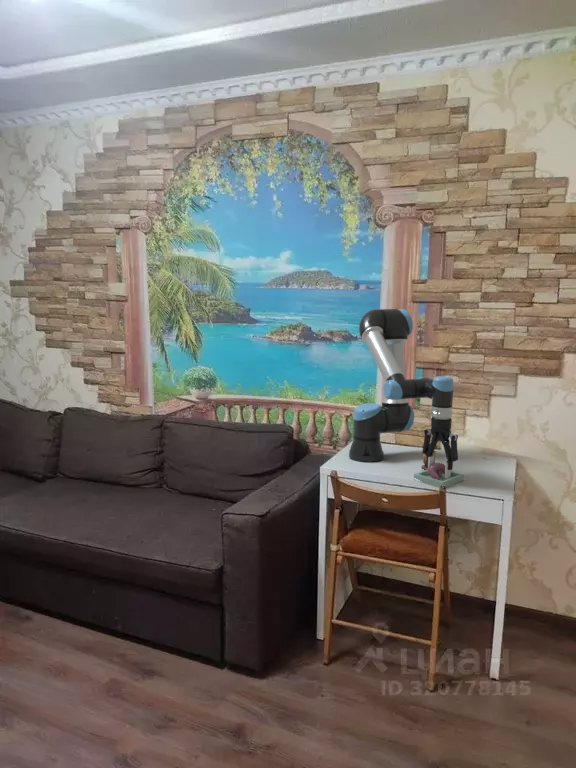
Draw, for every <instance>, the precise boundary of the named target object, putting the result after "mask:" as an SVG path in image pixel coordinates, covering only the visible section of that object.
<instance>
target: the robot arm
mask: <svg viewBox="0 0 576 768" xmlns="http://www.w3.org/2000/svg"><path fill="white" fill-rule="evenodd" d="M413 322H414V321H413V318H412V316H411V314H410V313H409V311H408V310H406V309H401V308H395V309H394V308H384V309H383V308H382V309H379V308H378V309H377V308H375V309H370V310H369V311H367V312H366V313H365V314H364V315H362V317H361V319H360V321H359V324H358V332H359V336H360V338H361V340H362V342H363V343H365V344H366V345H367V348H368V350H369V351H370V353H371V355H372V357H373V360H374V361H375V363H376V365H377V368H378V370H379V372H380V374H381V375H382V378H383V380H384V383H383V386H382V391H383V395H384V399H383V400H382V401H381V404H380V403H375V402H373V403H370V402H369V403H364V404H359V405H357V406H356V407H355V408H354V411H353V439H352V443H351V445H350V449H349V451H348V457H349V458H350V459H351V460H353V459H354V461H356V460H359V461H358V462H362V461H369V462H368V463H373V462H372V461H375V462H381V461H382V460H383V459H384V456H385V453H384V450H383V445H382V443H381V434H386V433H387V434H388V433H401V432H406V431H409V430H410V429H411V428H412V427H413V424H414V421H415V411H414V408H413V407H412V405H410V404H409V400H408V399H425V398H427V399H429V400H431V416H432V417H431V418H430V419H431V421H430V426H431V428H427V429H424V431H423V432H424V439H423V444H424V445H423V444H422V445H423V448H422V451H421V452H422V454H423V455H424V454H425V455H426V456H427V464H428V467H429V466H430V465H431V464H433V463H434V456H432V454H433V452H434V451H435V450H436V449H435V447H436V445H438V442H441V445H442V446H443V450H444V454H445V457H446V461H445V462H444V463H445V464H444V465H445V478H446V479H447V478H449V477H450V475H451V471H453V468H454V466H453V465H454V462H456V461H458V460H459V456H458V455H459V453H458V439H459V438H458V437H459V435H458V434H453V433H452V431H451V430H452V424H453V422H452V420H453V419H452V417H453V400H454V388H455V387H454V379H453V378H452V377H450V376H445V375H443V376H442V375H441V376H439V375H438V376H434V377H433V378H430V377H425V376H421V377H419V378H412V379H410V378H409V379H406V377H405V373H406V372H405V343H406V342H407V341H408V336H410V335H411V334H412V333H413V329H414V325H413V324H414V323H413ZM431 437H432V438H431ZM434 449H435V450H434ZM370 461H371V462H370Z"/></svg>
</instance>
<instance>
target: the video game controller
mask: <svg viewBox="0 0 576 768" xmlns="http://www.w3.org/2000/svg"><path fill="white" fill-rule="evenodd" d="M427 471H428V474H429V475H430V476H431V477H432V478H433V479H437V480H440V478H439V477H441V476H442V473H443V474H445V464H444V463H443V462H435V463H433V464H431V465H430V466H429V467H428V469H427ZM436 471H437V473H436ZM450 477H451V475H450Z"/></svg>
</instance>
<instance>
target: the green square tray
mask: <svg viewBox="0 0 576 768" xmlns="http://www.w3.org/2000/svg"><path fill="white" fill-rule="evenodd" d="M436 473H437V471H436ZM464 476H465V474H463V473H459V472H455V471H453V470H451V477H449V478H447V479H446V478H445V474H443V473H442V476H441V477H439V478H440V480H437V479H433V478H432V477H431V476H430V475H429V474H428V471H427V470H422V471H419V472H416V473H414V474H413V479H414V478H416V479H418V480H420V481H422V482H421V483H423V484H427V485H429V486H433V487H436V488H440V486H441V485H445V486H446V487H445V488H447V487H450V486H453V485H454V484H453V483H456V482H458V483H460V482H459V481H461V482H463V481H462V480H464V479H465V477H464ZM452 484H453V485H452ZM456 484H457V483H456ZM440 489H441V488H440Z"/></svg>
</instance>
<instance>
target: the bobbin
mask: <svg viewBox="0 0 576 768" xmlns="http://www.w3.org/2000/svg"><path fill="white" fill-rule="evenodd" d="M423 445H424V443H423V444H422V445H421V447H422V449H423ZM437 449H438V444H436V447H435V449H434V452H433V454H432V456H434V463H436V455H437V454H436V453H437V452H436V450H437ZM422 458H423V459H422V460H423V461H422V463H423V464H422V465H421V468H422V469H424V470H427V469H428V464H427V456H426V455H425V454H423V457H422ZM422 469H421V470H422ZM424 470H423V471H424Z"/></svg>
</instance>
